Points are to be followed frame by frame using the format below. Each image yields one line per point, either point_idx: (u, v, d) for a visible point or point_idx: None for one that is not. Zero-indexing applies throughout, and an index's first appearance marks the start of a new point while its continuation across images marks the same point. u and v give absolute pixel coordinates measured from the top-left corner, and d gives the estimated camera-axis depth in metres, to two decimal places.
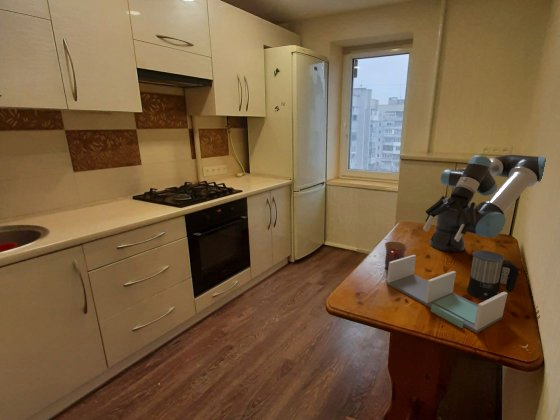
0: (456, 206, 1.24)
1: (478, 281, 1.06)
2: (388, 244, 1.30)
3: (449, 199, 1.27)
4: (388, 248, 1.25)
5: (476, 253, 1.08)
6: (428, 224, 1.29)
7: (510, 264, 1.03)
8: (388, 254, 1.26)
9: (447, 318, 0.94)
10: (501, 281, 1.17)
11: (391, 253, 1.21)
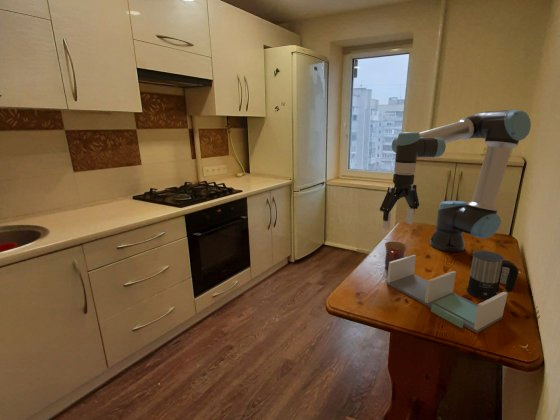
0: None
1: (478, 281, 1.06)
2: (388, 244, 1.30)
3: None
4: (388, 248, 1.25)
5: (476, 253, 1.08)
6: (408, 217, 1.26)
7: (510, 264, 1.03)
8: (388, 254, 1.26)
9: (447, 318, 0.94)
10: (501, 281, 1.17)
11: (391, 253, 1.21)
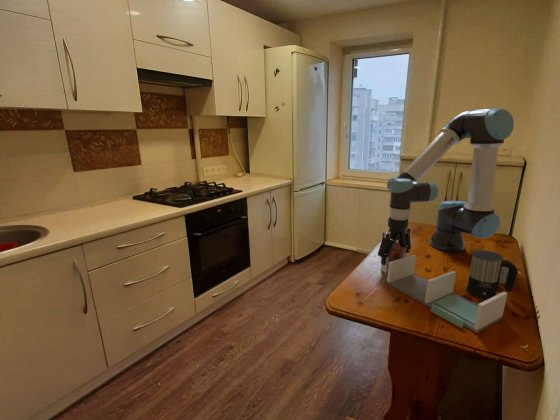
0: None
1: (477, 281, 1.06)
2: None
3: None
4: None
5: (475, 252, 1.08)
6: None
7: (509, 263, 1.03)
8: None
9: (447, 318, 0.94)
10: (501, 281, 1.17)
11: (391, 253, 1.21)
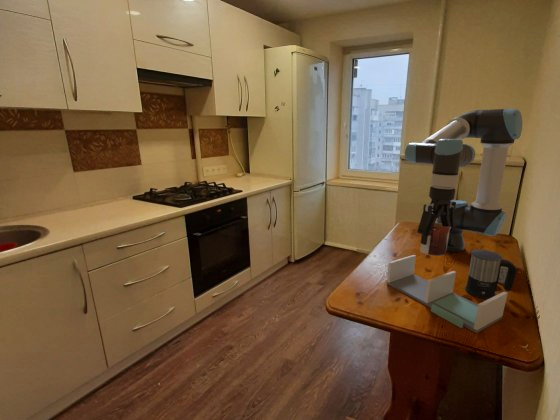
0: None
1: (476, 280, 1.07)
2: None
3: None
4: None
5: (474, 252, 1.09)
6: None
7: (508, 263, 1.04)
8: None
9: (447, 318, 0.94)
10: (501, 281, 1.17)
11: (435, 231, 1.00)
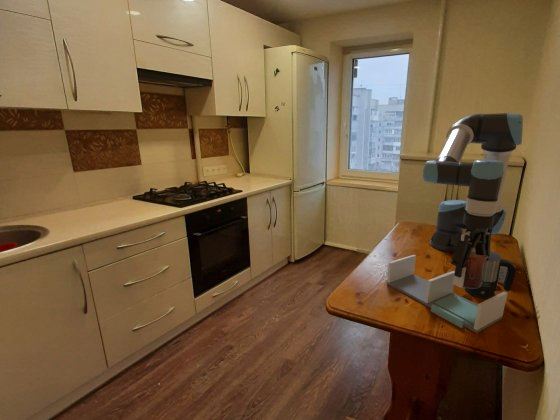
0: None
1: None
2: None
3: None
4: None
5: None
6: None
7: (507, 263, 1.04)
8: None
9: (447, 318, 0.94)
10: (501, 281, 1.17)
11: (472, 263, 0.89)
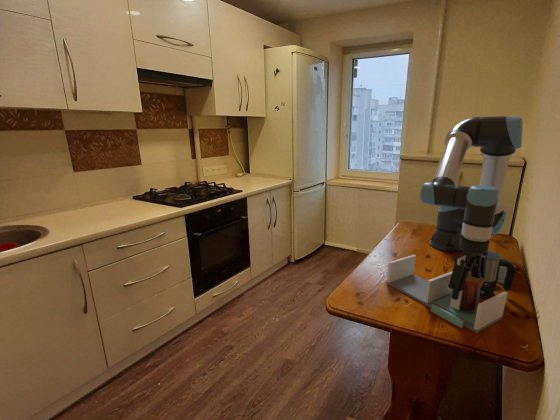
0: None
1: None
2: None
3: None
4: None
5: None
6: None
7: (507, 263, 1.04)
8: None
9: (447, 318, 0.94)
10: (501, 281, 1.17)
11: (470, 287, 0.91)
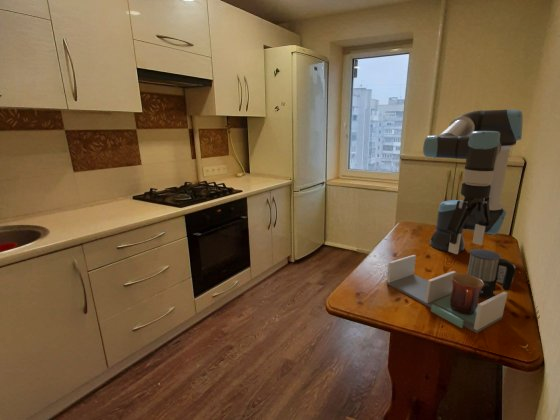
0: None
1: None
2: (454, 278, 0.98)
3: None
4: (460, 285, 0.93)
5: (473, 251, 1.09)
6: (476, 235, 1.02)
7: (506, 262, 1.04)
8: (458, 293, 0.94)
9: (447, 318, 0.94)
10: (501, 281, 1.17)
11: (468, 294, 0.90)
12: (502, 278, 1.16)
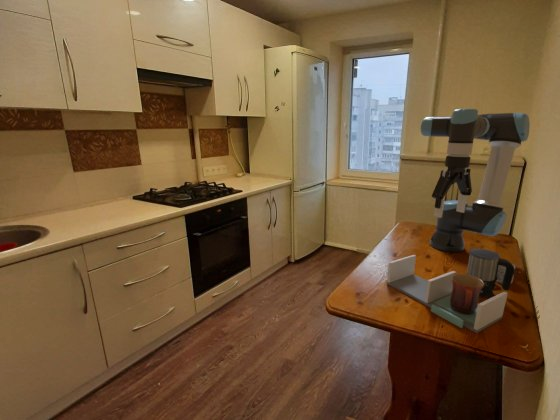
0: None
1: None
2: (454, 278, 0.98)
3: None
4: (460, 285, 0.93)
5: (472, 251, 1.10)
6: (459, 204, 1.15)
7: (506, 262, 1.04)
8: (458, 293, 0.94)
9: (447, 318, 0.94)
10: (501, 281, 1.17)
11: (468, 294, 0.90)
12: (502, 278, 1.16)
